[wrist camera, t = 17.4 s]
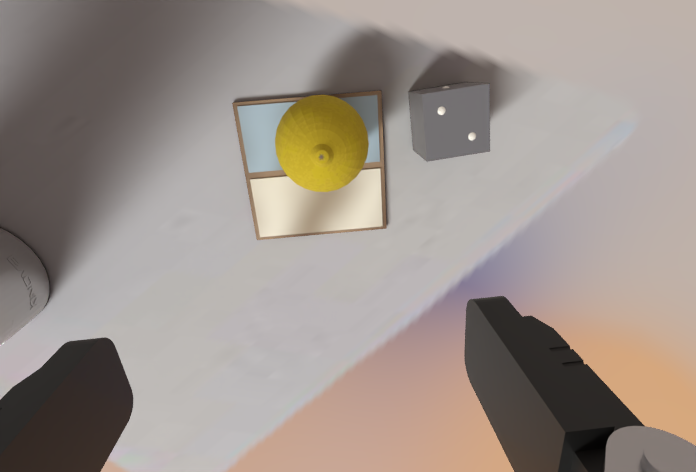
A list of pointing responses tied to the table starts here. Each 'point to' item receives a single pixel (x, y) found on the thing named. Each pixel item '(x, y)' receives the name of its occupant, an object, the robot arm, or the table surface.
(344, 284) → the table surface
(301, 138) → the lemon
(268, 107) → the board
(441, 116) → the die
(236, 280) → the table surface
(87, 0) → the table surface
